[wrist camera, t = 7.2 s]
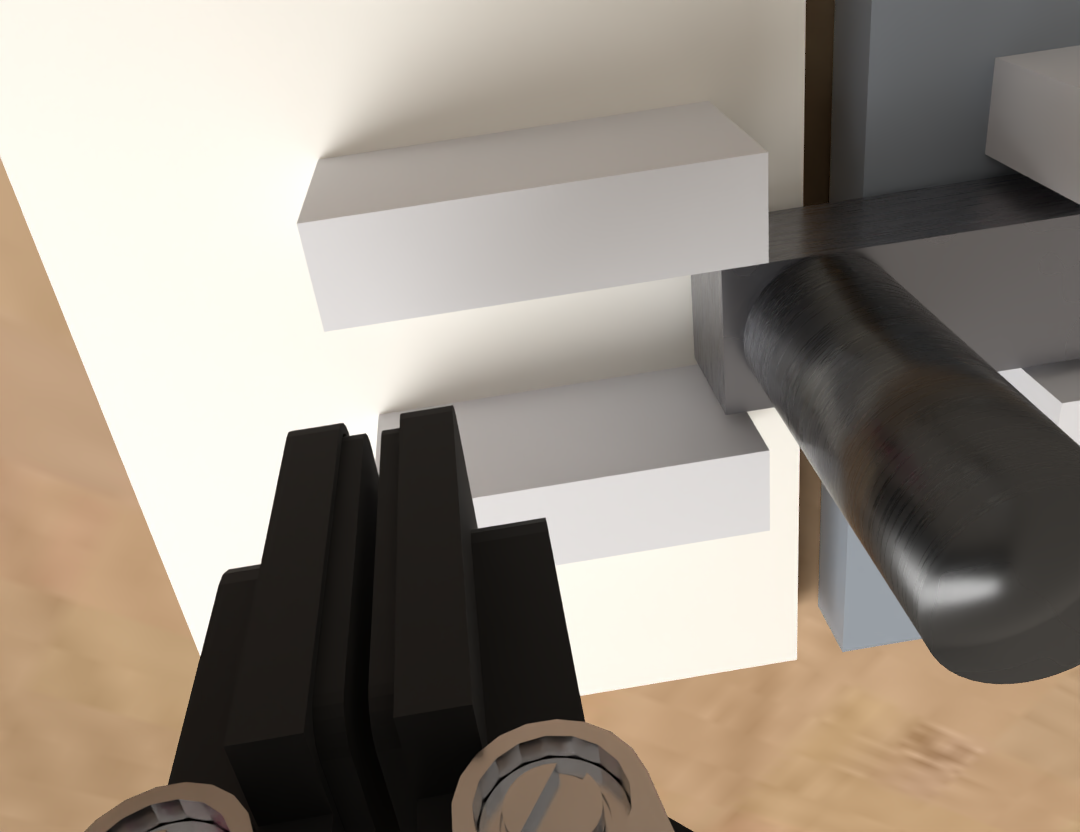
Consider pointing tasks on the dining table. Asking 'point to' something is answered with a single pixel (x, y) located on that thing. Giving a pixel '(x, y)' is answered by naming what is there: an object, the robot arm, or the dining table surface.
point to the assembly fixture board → (497, 263)
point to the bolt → (926, 400)
